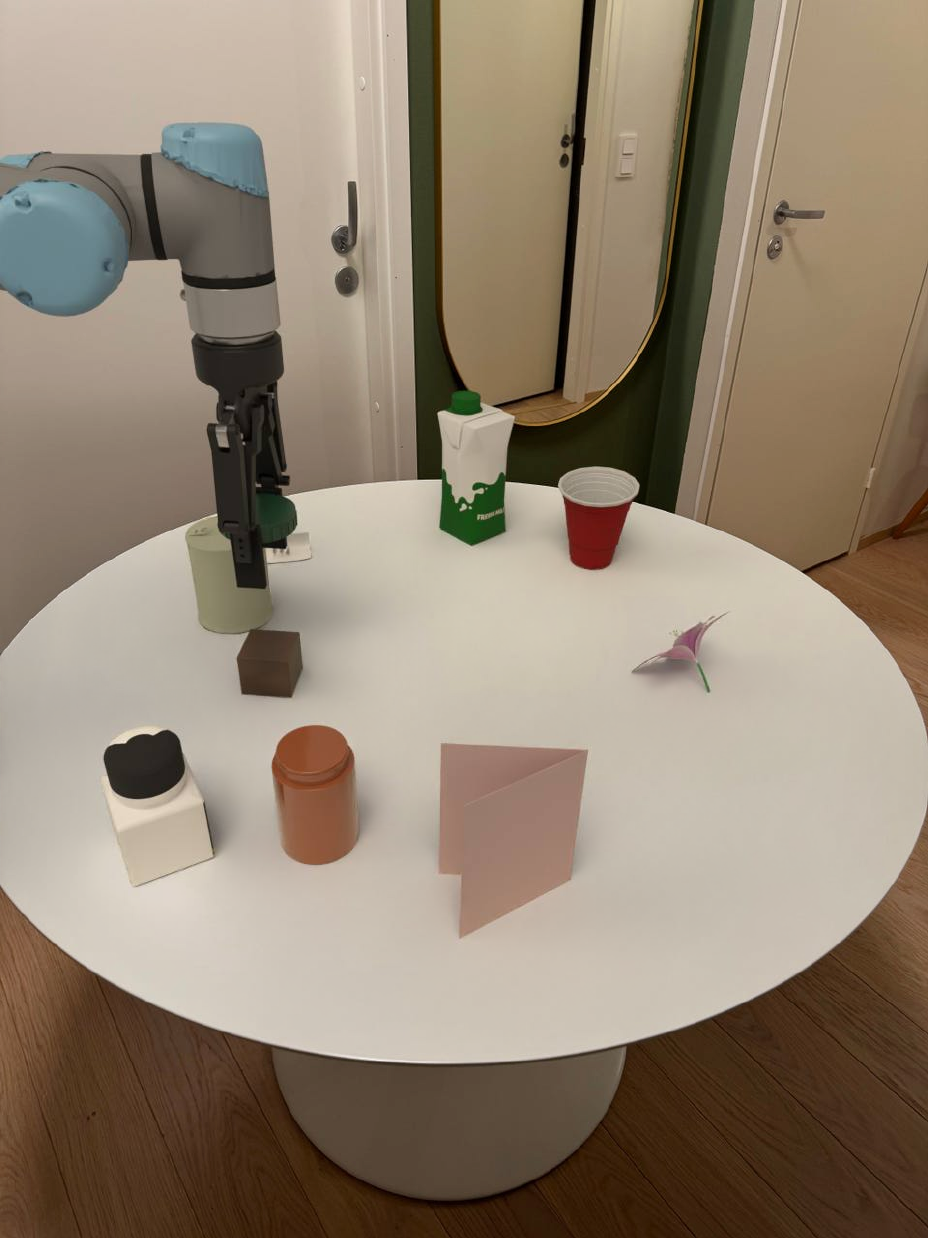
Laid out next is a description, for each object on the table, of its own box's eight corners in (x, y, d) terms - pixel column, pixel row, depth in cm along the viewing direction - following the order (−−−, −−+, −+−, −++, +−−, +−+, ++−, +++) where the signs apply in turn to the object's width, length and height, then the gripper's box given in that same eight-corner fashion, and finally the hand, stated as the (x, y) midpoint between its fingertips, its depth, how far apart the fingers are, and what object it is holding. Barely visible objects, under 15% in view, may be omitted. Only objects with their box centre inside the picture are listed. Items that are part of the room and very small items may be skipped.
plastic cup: (535, 557, 123) (541, 479, 117) (585, 534, 130) (594, 459, 123) (593, 588, 117) (603, 507, 110) (644, 562, 123) (656, 484, 116)
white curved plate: (312, 560, 121) (310, 541, 119) (253, 565, 119) (250, 546, 118) (309, 547, 124) (308, 528, 122) (252, 552, 122) (250, 533, 121)
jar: (272, 862, 77) (259, 773, 71) (291, 804, 82) (281, 718, 77) (351, 868, 76) (345, 779, 70) (364, 809, 82) (360, 723, 76)
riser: (241, 694, 96) (236, 657, 93) (255, 664, 101) (250, 628, 98) (291, 698, 96) (287, 661, 93) (303, 667, 100) (299, 631, 98)
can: (200, 596, 112) (187, 512, 106) (273, 591, 114) (264, 508, 107) (195, 637, 105) (180, 549, 98) (273, 631, 106) (264, 544, 100)
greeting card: (569, 871, 77) (587, 742, 68) (575, 944, 70) (595, 812, 62) (439, 865, 77) (441, 735, 69) (433, 937, 71) (435, 804, 62)
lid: (305, 511, 87) (304, 495, 86) (286, 546, 81) (285, 529, 80) (232, 506, 88) (230, 490, 87) (208, 541, 82) (206, 524, 81)
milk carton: (473, 511, 135) (477, 384, 124) (514, 532, 130) (523, 401, 118) (430, 528, 130) (430, 397, 119) (471, 550, 124) (476, 416, 113)
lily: (721, 657, 106) (697, 585, 104) (773, 680, 95) (747, 601, 92) (634, 698, 105) (607, 627, 103) (676, 727, 93) (647, 648, 91)
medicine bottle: (216, 858, 77) (196, 756, 70) (132, 889, 74) (103, 786, 67) (193, 806, 82) (173, 706, 75) (114, 833, 79) (86, 732, 72)
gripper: (228, 300, 83) (254, 517, 95) (147, 366, 66) (192, 618, 79) (306, 304, 82) (322, 521, 95) (245, 371, 66) (274, 624, 78)
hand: (263, 565), depth 87 cm, fingers closed on lid, 7 cm apart
